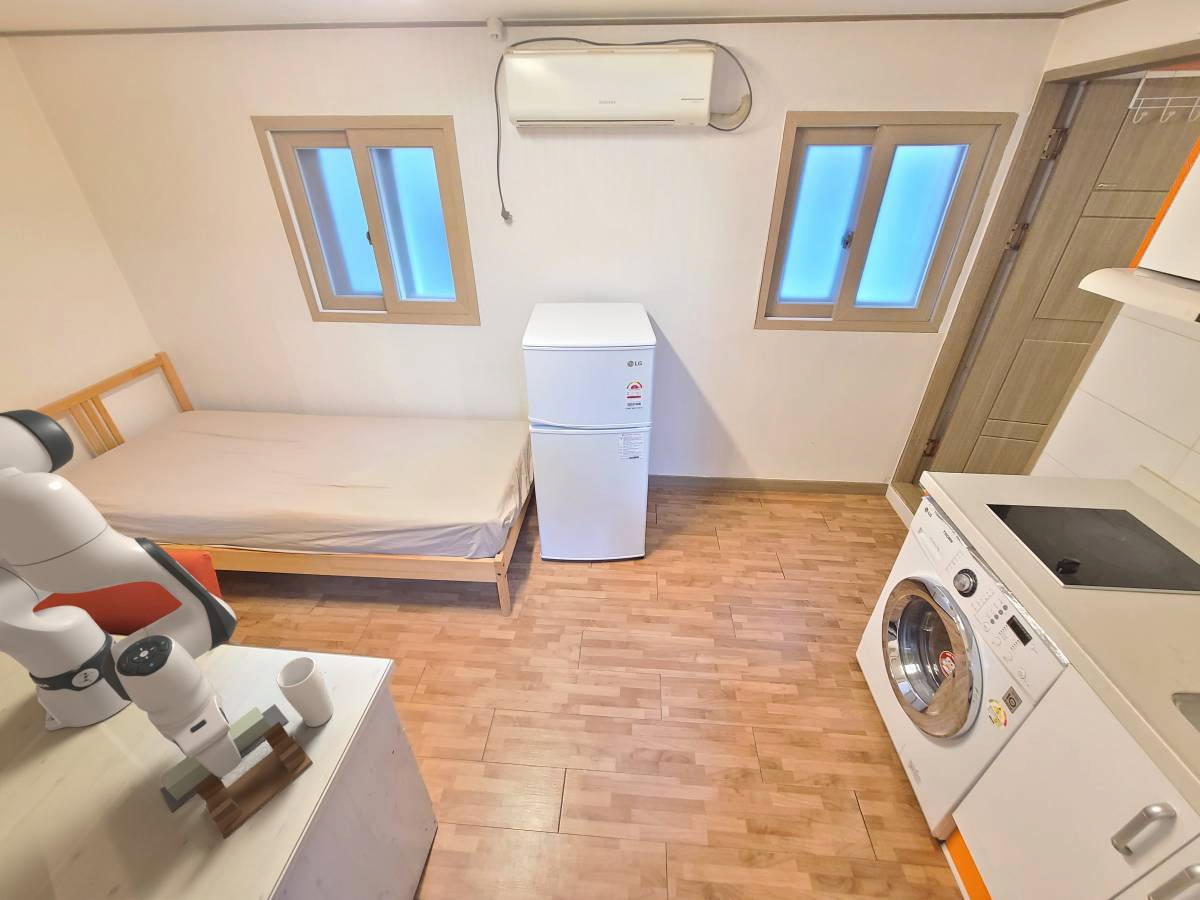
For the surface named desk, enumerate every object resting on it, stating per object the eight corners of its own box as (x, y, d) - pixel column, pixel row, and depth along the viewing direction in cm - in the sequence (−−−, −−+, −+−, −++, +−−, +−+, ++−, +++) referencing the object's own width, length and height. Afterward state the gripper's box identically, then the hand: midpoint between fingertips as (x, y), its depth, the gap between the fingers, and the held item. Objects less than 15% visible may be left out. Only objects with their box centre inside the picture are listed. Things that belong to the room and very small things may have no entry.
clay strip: (177, 800, 87) (166, 789, 85) (170, 787, 89) (159, 776, 87) (271, 728, 98) (263, 716, 96) (263, 717, 100) (256, 706, 98)
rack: (207, 807, 86) (190, 789, 83) (293, 737, 97) (281, 719, 93) (225, 838, 82) (208, 821, 79) (312, 762, 93) (301, 744, 89)
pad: (160, 790, 89) (160, 789, 89) (275, 704, 102) (274, 703, 102) (172, 812, 86) (171, 811, 86) (288, 721, 99) (288, 720, 99)
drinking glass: (332, 693, 104) (310, 649, 97) (342, 716, 100) (320, 672, 92) (298, 714, 101) (272, 669, 93) (306, 739, 96) (280, 695, 88)
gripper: (147, 690, 89) (182, 731, 96) (188, 761, 78) (224, 801, 85) (188, 665, 93) (218, 706, 100) (232, 729, 83) (262, 770, 90)
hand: (221, 750), depth 93 cm, fingers closed on clay strip, 3 cm apart
